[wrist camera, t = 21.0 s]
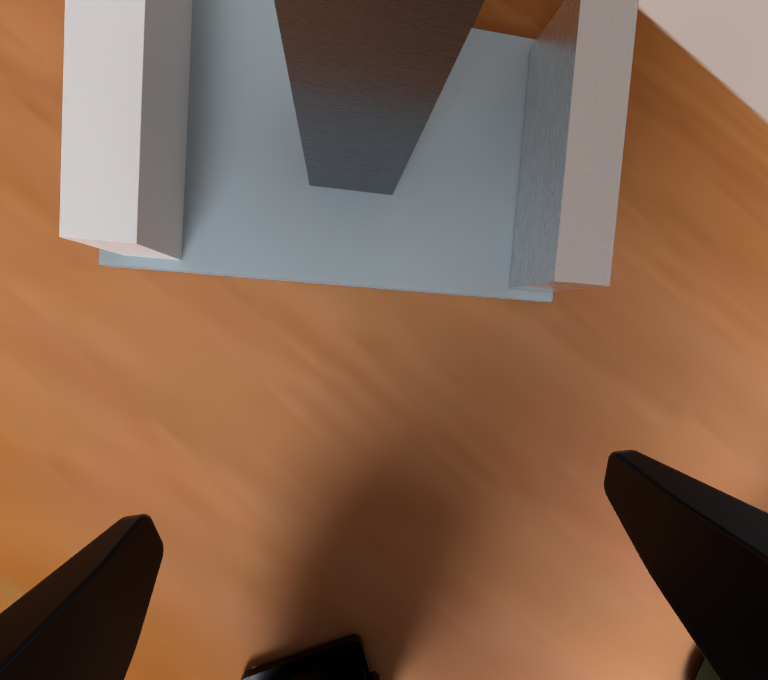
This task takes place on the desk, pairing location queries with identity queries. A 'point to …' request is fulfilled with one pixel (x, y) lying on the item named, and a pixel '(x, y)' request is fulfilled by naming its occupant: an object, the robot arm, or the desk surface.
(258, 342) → the desk surface
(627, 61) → the bar
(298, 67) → the steel block
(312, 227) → the vise base
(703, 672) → the character mug
